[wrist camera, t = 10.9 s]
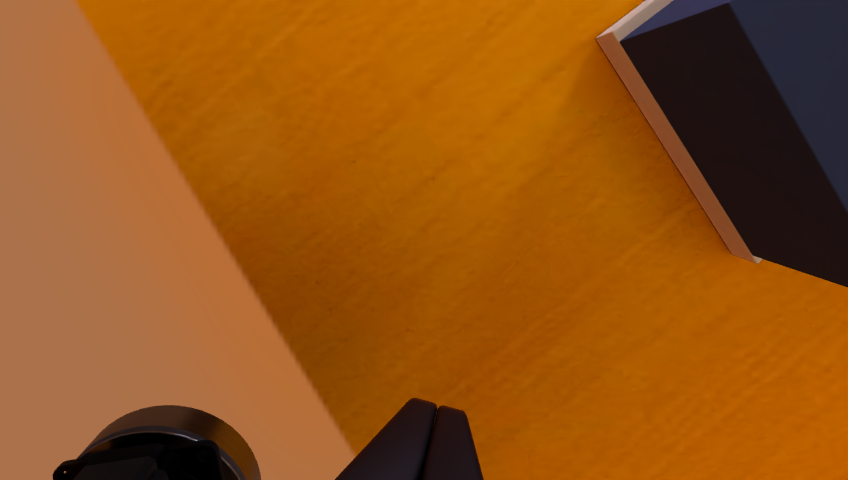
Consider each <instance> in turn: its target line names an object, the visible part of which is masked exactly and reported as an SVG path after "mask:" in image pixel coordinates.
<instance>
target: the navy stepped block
mask: <svg viewBox="0 0 848 480" xmlns="http://www.w3.org/2000/svg"><path fill="white" fill-rule="evenodd" d="M596 40H597V42H598V43H599V45H600V46H601V48H602V50H603V51H604V53H605V54H606V56H607V58H608V59H609V61H610V62H611V64H612V65H613V67H614V69H615V70H616V72H617V73H618V75H619V76H620V78H621V80H622V81H623V83H624V84H625V86H626V87H627V89H628V91H629V92H630V94H631V95H632V97H633V99H634V100H635V102H636V103H637V105H638V106H639V108H640V110H641V111H642V113H643V114H644V116H645V117H646V119H647V121H648V122H649V124H650V125H651V127H652V129H653V130H654V132H655V133H656V135H657V136H658V138H659V140H660V141H661V143H662V144H663V146H664V147H665V149H666V151H667V152H668V154H669V155H670V157H671V159H672V160H673V162H674V163H675V165H676V166H677V168H678V170H679V171H680V173H681V174H682V176H683V177H684V179H685V181H686V182H687V184H688V185H689V187H690V188H691V190H692V192H693V193H694V195H695V196H696V198H697V200H698V201H699V203H700V204H701V206H702V207H703V209H704V211H705V212H706V214H707V215H708V217H709V218H710V220H711V222H712V223H713V225H714V226H715V228H716V230H717V231H718V233H719V234H720V236H721V237H722V239H723V241H724V242H725V244H726V245H727V247H728V248H729V250H730V252H731V253H732V255H734V256H737V257H740V258H743V259H746V260H749V261H751V262H754V263H759V262H760V261H761V260H763V259H765V260H768V261H771V262H774V263H777V264H780V265H783V266H786V267H789V268H792V269H795V270H798V271H801V272H804V273H807V274H810V275H813V276H816V277H819V278H822V279H825V280H828V281H831V282H834V283H837V284H840V285H843V286H846V287H848V0H645V1H644V2H643V3H641V4H640V5H639V6H637V7H636V8H635V9H633V10H632V11H631V12H629V13H628V14H627V15H625V16H624V17H623V18H622V19H620V20H619V21H618V22H616V23H615V24H614V25H612V26H611V27H610V28H608V29H607V30H606V31H605V32H603V33H602V34H601V35H599V36H598V37H597V38H596Z"/></svg>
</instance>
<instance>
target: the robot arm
mask: <svg viewBox="0 0 848 480" xmlns="http://www.w3.org/2000/svg"><path fill="white" fill-rule="evenodd" d="M436 412H437V414H436ZM435 417H436V418H435ZM434 421H435V422H434ZM433 425H434V426H433ZM432 429H433V430H432ZM201 450H207V451H208V452H209V453H210V455H209V456H204V455H203V454H202V453H201ZM64 471H67V472H69V473H71V475H72V477H69V476H67V475H66V474H65V473H64ZM53 480H226V479H225V475H224V470H223V465H222V460H221V456H220V451H219V447H218V445H217V444H216V443H215V442H214V441H212V440H208V439H204V440H197V441H191V442H184V443H178V444H171V445H165V446H163V445H161V444H158V443H153V444H147V445H140V446H133V447H127V448H120V449H114V450H107V451H101V452H97V453H96V454H95V455H94V456H92V457H86V458H79V459H73V460H67V461H64V462H62V463H61V464H60V465H59V466H58V467H57V468H56V469H55V471H54V473H53ZM335 480H483V476H482V472H481V468H480V464H479V460H478V457H477V453H476V449H475V445H474V441H473V438H472V434H471V430H470V426H469V422H468V418H467V416H466V413H465V412H464V411H462V410H459V409H455V408H451V407H448V406H443V405H442V406H440V407H439V408H438V410H437V405H436V404H435V403H433V402H429V401H425V400H422V399H418V398H412V399H410V400H409V401H408V402H407V403H406V404H405V405H404V406H403V407H402V408H401V409H400V410H399V411H398V412H397V414H396V415H395V416H394V417H393V418H392V419H391V420H390V421H389V422H388V423H387V424H386V425H385V426H384V427H383V428H382V430H381V431H380V432H379V433H378V434H377V435H376V436H375V437H374V438H373V439H372V440H371V441H370V442H369V443H368V445H367V446H366V447H365V448H364V449H363V450H362V451H361V452H360V453H359V454H358V455H357V456H356V457H355V458H354V460H353V461H352V462H351V463H350V464H349V465H348V466H347V467H346V468H345V469H344V470H343V471H342V472H341V473H340V474H339V476H338V477H337V478H336V479H335Z"/></svg>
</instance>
